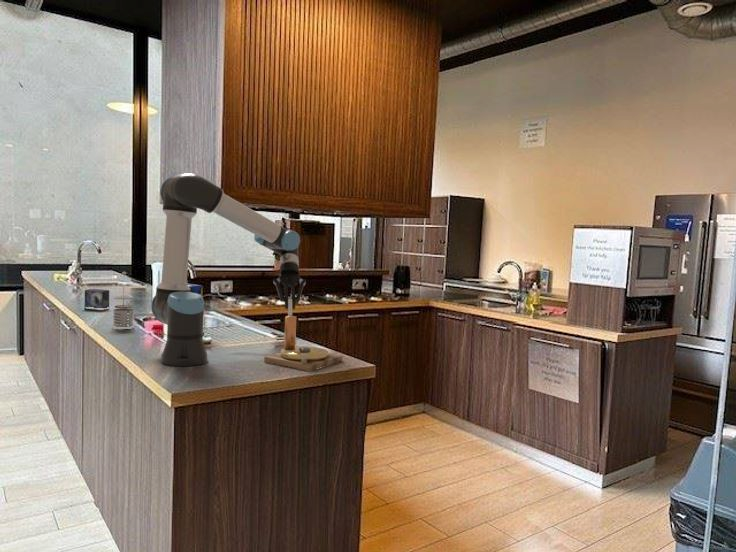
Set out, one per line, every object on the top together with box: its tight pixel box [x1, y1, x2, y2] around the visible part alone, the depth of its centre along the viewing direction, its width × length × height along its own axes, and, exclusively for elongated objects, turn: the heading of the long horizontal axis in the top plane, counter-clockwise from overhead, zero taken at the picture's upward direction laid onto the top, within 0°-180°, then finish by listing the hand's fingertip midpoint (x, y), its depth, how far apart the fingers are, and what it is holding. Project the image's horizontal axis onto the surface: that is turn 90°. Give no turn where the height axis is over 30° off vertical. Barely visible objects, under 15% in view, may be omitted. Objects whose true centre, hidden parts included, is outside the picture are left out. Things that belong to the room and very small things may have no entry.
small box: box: [84, 288, 110, 308], centre depth 290 cm, size 11×6×10 cm, turn 80°
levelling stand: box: [264, 352, 344, 372], centre depth 198 cm, size 20×20×5 cm
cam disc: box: [279, 315, 329, 361], centre depth 197 cm, size 17×17×14 cm
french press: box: [112, 271, 135, 327], centre depth 242 cm, size 10×12×25 cm
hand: (290, 315), depth 206 cm, fingers closed
